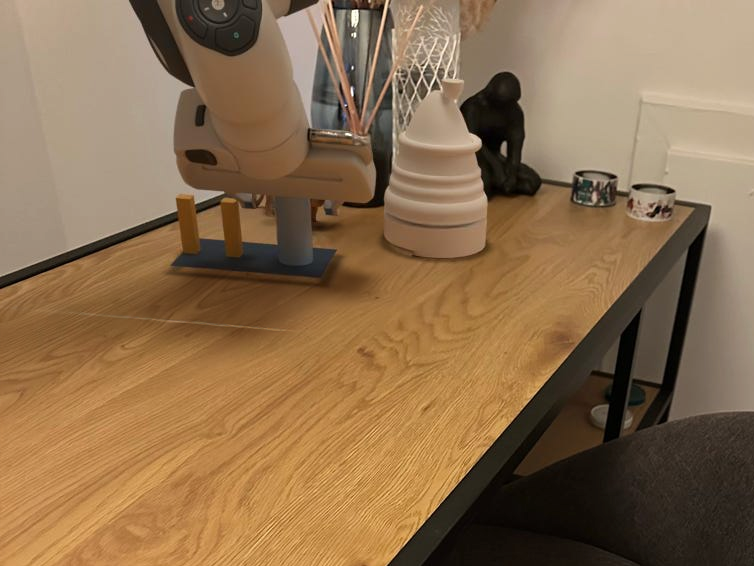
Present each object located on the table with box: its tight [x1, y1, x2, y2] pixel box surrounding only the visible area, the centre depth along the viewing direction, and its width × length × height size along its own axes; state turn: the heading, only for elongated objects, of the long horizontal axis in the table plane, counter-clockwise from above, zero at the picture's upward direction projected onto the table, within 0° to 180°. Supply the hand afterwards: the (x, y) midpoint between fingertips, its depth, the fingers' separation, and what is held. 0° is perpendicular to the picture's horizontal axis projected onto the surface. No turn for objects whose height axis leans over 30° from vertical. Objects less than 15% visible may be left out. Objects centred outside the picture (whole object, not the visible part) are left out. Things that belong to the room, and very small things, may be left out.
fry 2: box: [219, 197, 243, 258], centre depth 106 cm, size 2×2×6 cm
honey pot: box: [383, 77, 489, 259], centre depth 113 cm, size 13×13×18 cm
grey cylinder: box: [273, 196, 314, 266], centre depth 105 cm, size 4×4×10 cm
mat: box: [170, 237, 338, 279], centre depth 108 cm, size 17×10×1 cm, turn 86°
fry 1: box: [175, 193, 201, 254], centre depth 106 cm, size 2×2×6 cm
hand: (291, 206), depth 105 cm, fingers open, 8 cm apart
